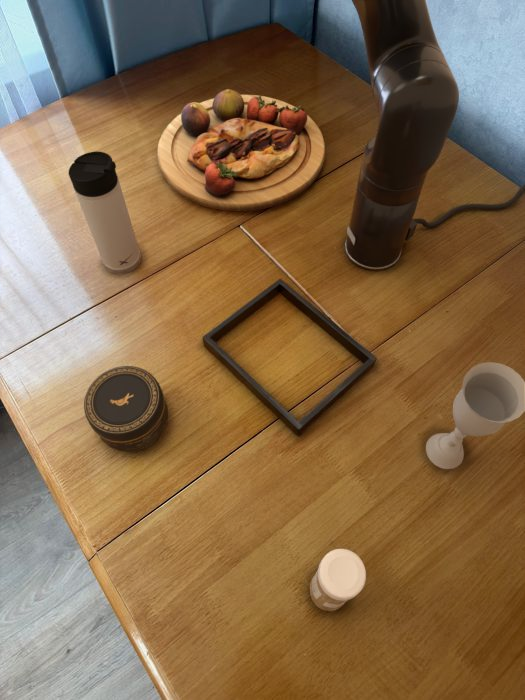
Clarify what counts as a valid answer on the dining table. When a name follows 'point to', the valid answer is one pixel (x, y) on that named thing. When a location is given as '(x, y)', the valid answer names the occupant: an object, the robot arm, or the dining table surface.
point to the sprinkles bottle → (337, 579)
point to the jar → (126, 408)
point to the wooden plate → (241, 152)
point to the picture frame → (316, 317)
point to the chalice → (479, 410)
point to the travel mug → (105, 211)
